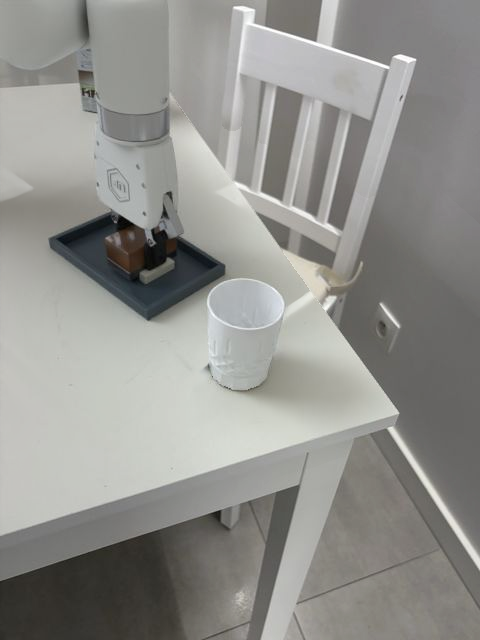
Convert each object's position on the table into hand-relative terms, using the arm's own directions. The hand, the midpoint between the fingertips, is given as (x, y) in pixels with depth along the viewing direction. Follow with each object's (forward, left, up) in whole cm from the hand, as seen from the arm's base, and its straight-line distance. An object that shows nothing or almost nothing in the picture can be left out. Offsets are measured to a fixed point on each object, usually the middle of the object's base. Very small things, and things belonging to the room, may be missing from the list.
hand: (142, 255), depth 71 cm
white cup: (+21, -4, -2) cm, 22 cm away
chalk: (+3, 0, -1) cm, 3 cm away
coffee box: (-44, +29, -2) cm, 53 cm away
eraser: (0, 0, -1) cm, 1 cm away
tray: (-1, 0, -2) cm, 2 cm away
